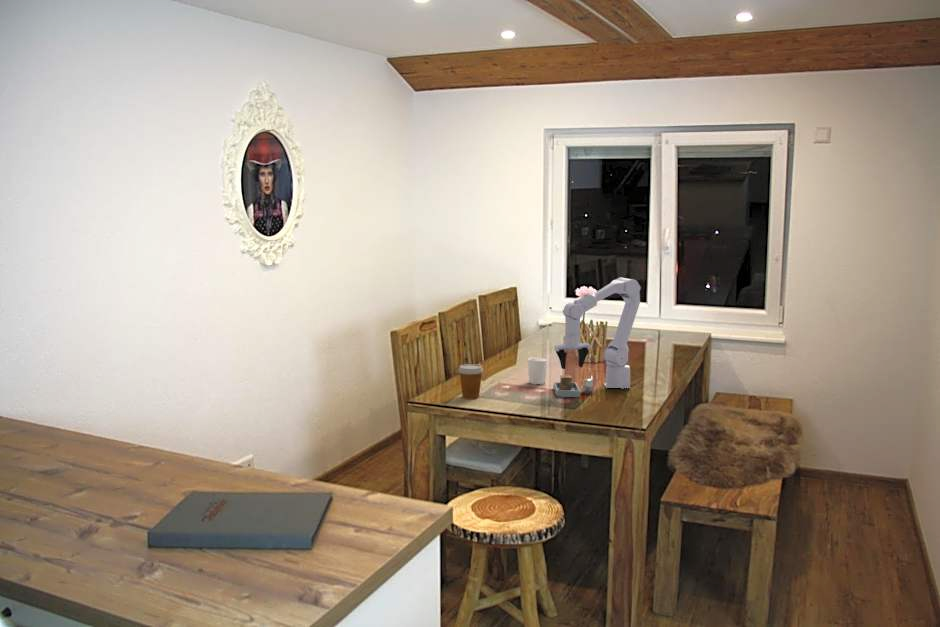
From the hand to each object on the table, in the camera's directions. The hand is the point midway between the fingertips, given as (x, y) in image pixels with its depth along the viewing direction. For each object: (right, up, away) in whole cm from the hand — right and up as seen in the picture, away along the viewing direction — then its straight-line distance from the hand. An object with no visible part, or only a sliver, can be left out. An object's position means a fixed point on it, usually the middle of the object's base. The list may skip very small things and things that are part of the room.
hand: (572, 367), depth 313 cm
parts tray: (-2, -10, -2) cm, 10 cm away
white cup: (-13, -7, +15) cm, 21 cm away
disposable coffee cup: (-40, -11, -9) cm, 42 cm away
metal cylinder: (+6, -10, -1) cm, 11 cm away
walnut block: (-2, -9, +2) cm, 9 cm away
